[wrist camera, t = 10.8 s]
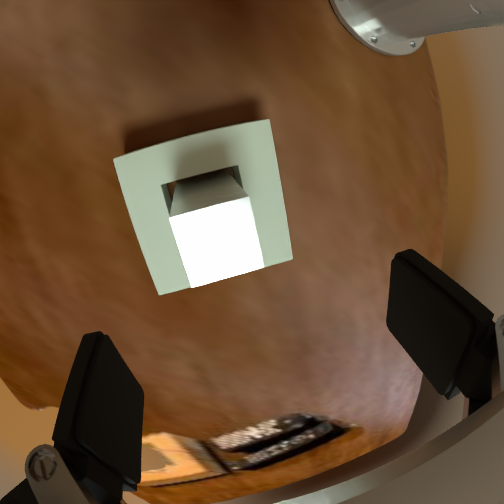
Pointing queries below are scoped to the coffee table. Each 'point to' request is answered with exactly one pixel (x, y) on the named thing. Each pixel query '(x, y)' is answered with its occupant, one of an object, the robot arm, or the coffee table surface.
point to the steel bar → (214, 228)
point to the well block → (194, 163)
